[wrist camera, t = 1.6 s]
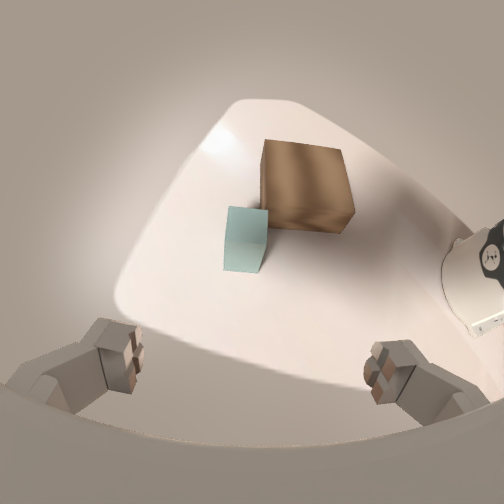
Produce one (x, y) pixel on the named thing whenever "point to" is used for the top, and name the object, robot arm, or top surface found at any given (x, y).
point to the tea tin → (245, 239)
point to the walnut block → (304, 187)
